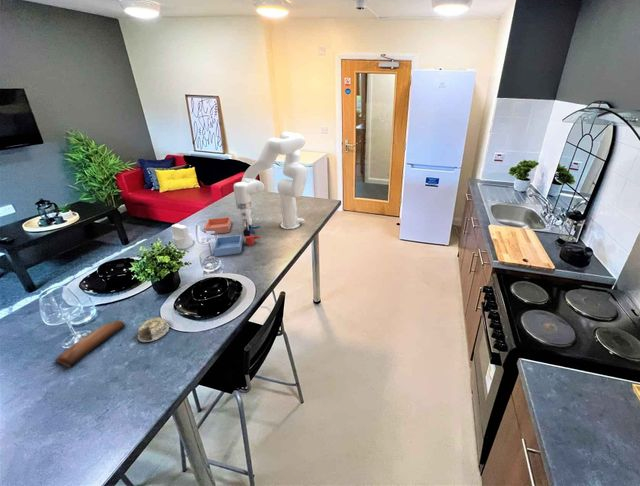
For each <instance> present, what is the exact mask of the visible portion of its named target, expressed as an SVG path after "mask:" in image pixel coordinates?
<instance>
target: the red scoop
mask: <svg viewBox="0 0 640 486" xmlns="http://www.w3.org/2000/svg"><path fill="white" fill-rule="evenodd" d="M261 238H262V236H261V235H256V236H255V235H254V233H253V234H250V236H246V237H244V241H245V244H246V245H247V246H253V245H255V240H257V239H261Z"/></svg>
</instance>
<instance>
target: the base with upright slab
mask: <svg viewBox="0 0 640 486" xmlns="http://www.w3.org/2000/svg"><path fill="white" fill-rule="evenodd" d="M171 229H172V234H173V236H172V240H173V244H174V246H175V245H176V246H177V248H178V249H179V250H182V249H183V250H184V249H188V248H190V247H191V246H193V245H194V239H193V236H192V233H191V232H190V231H189V228H188V226H187V225H183V224H179V223H174V224H172V225H171ZM177 248H176V249H177Z"/></svg>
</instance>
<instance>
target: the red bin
mask: <svg viewBox="0 0 640 486" xmlns="http://www.w3.org/2000/svg"><path fill="white" fill-rule="evenodd" d="M231 226H232V218H231V216H227V217H217V218H207V220H206V224H205V226H204V228H203V229H204V231H205V230H206V231H215V233H216V234H215V235H217V234H225V233H226V234H227V233H230V232H231V231H230V230H231Z"/></svg>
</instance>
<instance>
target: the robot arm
mask: <svg viewBox="0 0 640 486" xmlns="http://www.w3.org/2000/svg"><path fill="white" fill-rule="evenodd" d="M305 143H306V140H305V136H304V135H302V134H300V133H295V132H290V131H283V132H281V133H280V135H279V137H270V138H268V140H267V141H266V142H265V144H264V146H263V148H262V151H261V153H260V154H259V156H258V159H257V160H255V161H254V162H253V163H252V164H251V165H250V166H249V167H248V168H247V169H246V170H245V172H244V173H243V176H242V178H241V181H238V182H234V184H233V193H234V199H235V205H236V209H237V210H238V211H239V217H240V223H241V224H240V225H241V226H242V231H243V237H244V238H245V237H246V236H250V230H249V228H251V225H252V223H253V217H252V211H251V208H252V200H251V196H253V195H259V194H262V193H263V192H264V191H265V184H264V182H262V181H261V180H258V179H256V178H257V177H258V175H259V174H260V173H262V172H263V171H266V170H269V169H271V168H273V166H274V164H275V162H276V160H277V158H278V156H279V155H281V156H285V157H284V158H285V159H284V164H283V168H282V173H283V175H284V176H285V177H287V178H282V179H280V180H279V181H278V183H277V185H276V187H277V192H278V196H279V200H280V209H281V220H282V222H281V223H280V227H281V228H282V229H283V230H295V229H298V228H299V227H300V226H301V223H305V222H306V221H305V220H306V219H305V218H303V217H300V218H299V217H298V209H297V199H299V198H300V197H301V196H302V195H303V194H304V190H305V186H306V182H307V177H308V170H307V168H306V166H305V165H303V164H301V163H300V158H301V152H300V150H301V149H302V148H304V146H305ZM289 178H290V179H289ZM296 198H297V199H296Z"/></svg>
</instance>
